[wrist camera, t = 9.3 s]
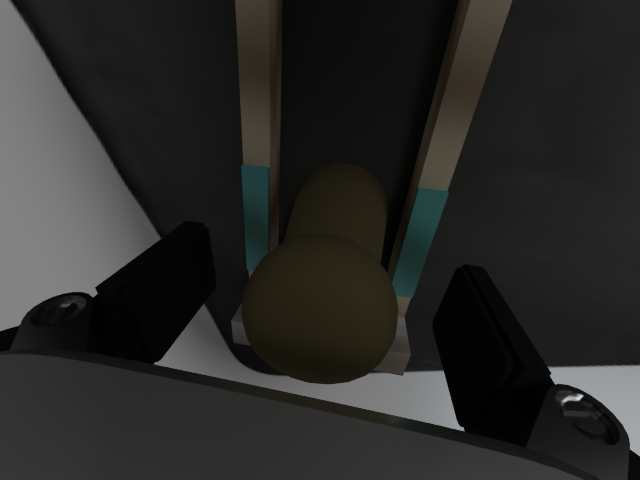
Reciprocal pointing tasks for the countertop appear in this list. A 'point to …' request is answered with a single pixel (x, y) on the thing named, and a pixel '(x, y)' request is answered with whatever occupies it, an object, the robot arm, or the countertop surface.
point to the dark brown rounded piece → (326, 282)
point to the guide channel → (432, 161)
